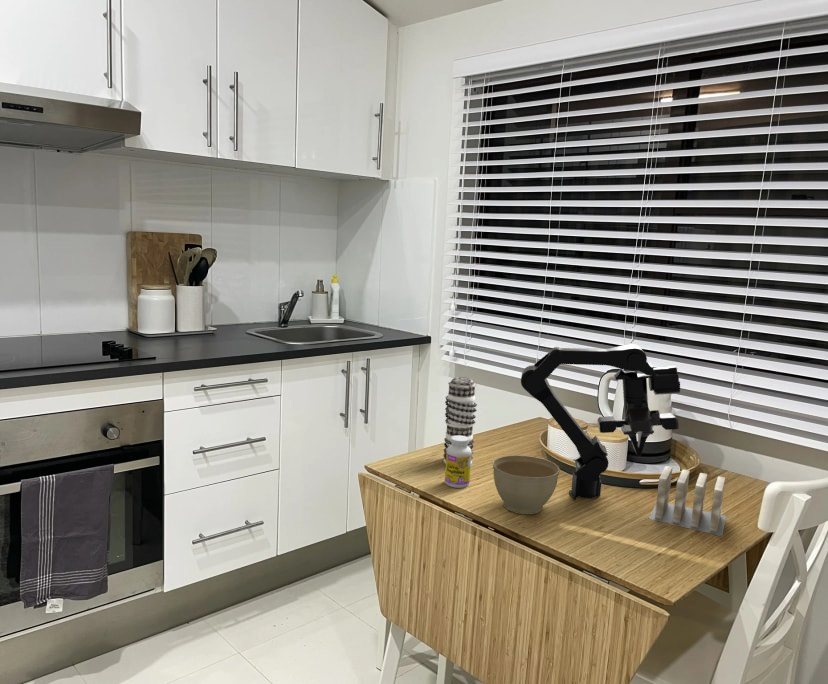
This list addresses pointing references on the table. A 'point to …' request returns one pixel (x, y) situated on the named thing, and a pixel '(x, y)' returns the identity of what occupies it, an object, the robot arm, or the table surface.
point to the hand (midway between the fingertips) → (638, 456)
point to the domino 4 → (717, 504)
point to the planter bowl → (525, 482)
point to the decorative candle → (460, 411)
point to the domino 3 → (699, 500)
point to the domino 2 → (681, 496)
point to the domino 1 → (663, 492)
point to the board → (687, 518)
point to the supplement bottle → (458, 462)
